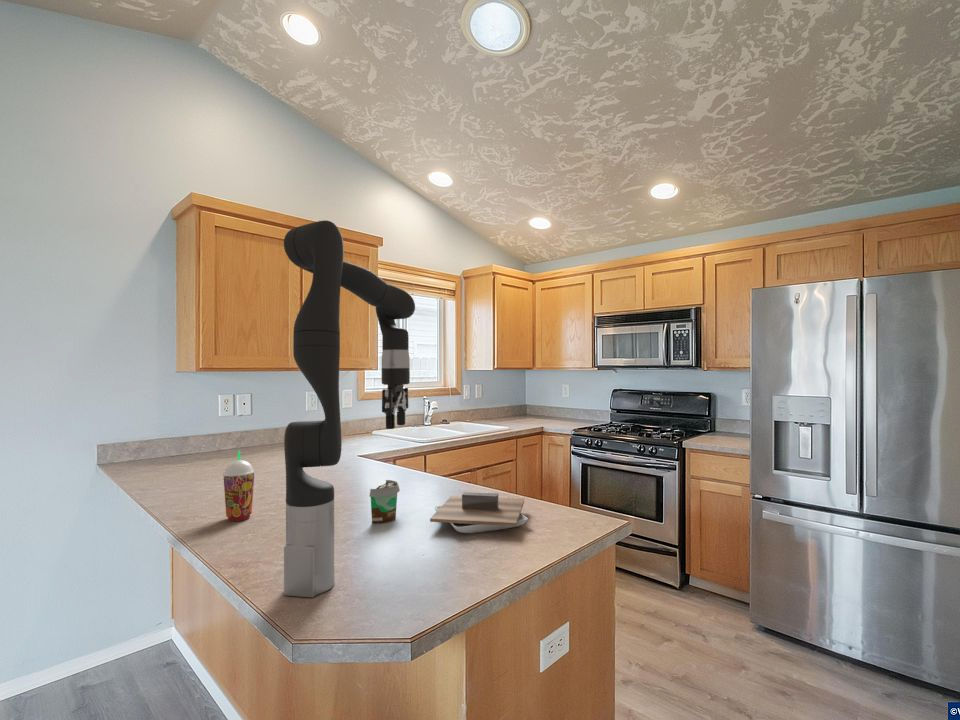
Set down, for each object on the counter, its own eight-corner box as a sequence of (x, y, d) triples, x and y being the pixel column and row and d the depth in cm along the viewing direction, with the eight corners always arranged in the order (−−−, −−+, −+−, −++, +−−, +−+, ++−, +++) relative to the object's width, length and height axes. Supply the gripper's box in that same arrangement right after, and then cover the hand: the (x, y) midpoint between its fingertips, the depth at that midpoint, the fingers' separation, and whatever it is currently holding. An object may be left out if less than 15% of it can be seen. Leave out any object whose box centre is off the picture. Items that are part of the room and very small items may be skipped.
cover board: (516, 526, 124) (515, 507, 124) (430, 521, 128) (429, 503, 128) (524, 501, 146) (524, 485, 146) (451, 498, 151) (450, 483, 151)
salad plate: (499, 509, 150) (498, 498, 150) (530, 530, 131) (529, 517, 131) (433, 517, 143) (433, 505, 143) (455, 540, 123) (455, 527, 123)
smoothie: (216, 520, 140) (216, 451, 140) (242, 512, 147) (242, 447, 147) (235, 524, 136) (235, 454, 136) (260, 516, 143) (260, 449, 144)
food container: (390, 526, 133) (390, 490, 134) (369, 525, 135) (369, 489, 135) (405, 513, 145) (405, 480, 146) (386, 512, 147) (386, 479, 147)
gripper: (400, 366, 122) (400, 430, 122) (416, 366, 136) (417, 424, 136) (372, 366, 124) (372, 430, 123) (391, 367, 138) (391, 423, 137)
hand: (395, 426), depth 130 cm, fingers open, 8 cm apart
